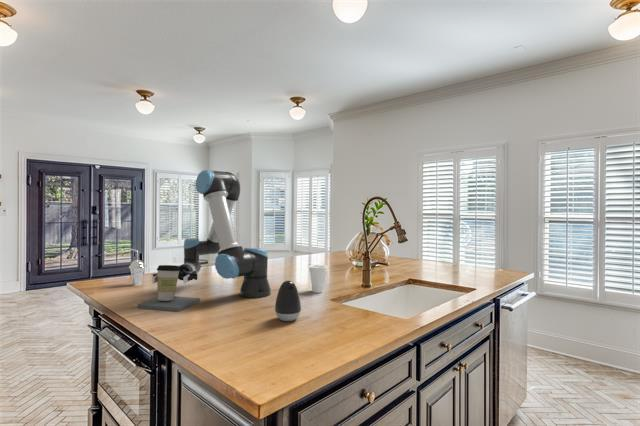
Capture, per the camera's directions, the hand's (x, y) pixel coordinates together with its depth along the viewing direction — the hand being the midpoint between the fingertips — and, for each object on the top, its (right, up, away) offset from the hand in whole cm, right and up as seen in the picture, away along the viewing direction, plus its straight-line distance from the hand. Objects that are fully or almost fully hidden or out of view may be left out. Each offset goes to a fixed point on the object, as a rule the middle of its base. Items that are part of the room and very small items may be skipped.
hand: (168, 280), depth 154 cm
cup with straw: (-34, -10, +39) cm, 53 cm away
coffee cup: (-2, -9, +3) cm, 10 cm away
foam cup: (+66, -11, +29) cm, 73 cm away
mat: (0, -11, +2) cm, 11 cm away
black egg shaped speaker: (+54, -12, -17) cm, 58 cm away
